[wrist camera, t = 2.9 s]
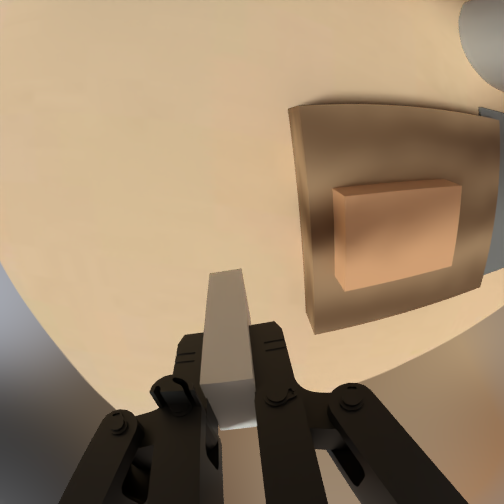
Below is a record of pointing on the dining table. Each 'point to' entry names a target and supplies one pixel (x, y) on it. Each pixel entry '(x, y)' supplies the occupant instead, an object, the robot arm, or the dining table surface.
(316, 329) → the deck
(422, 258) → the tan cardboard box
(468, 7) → the lumpy-topped squat cylinder
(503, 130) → the mat
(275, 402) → the robot arm
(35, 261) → the dining table surface
